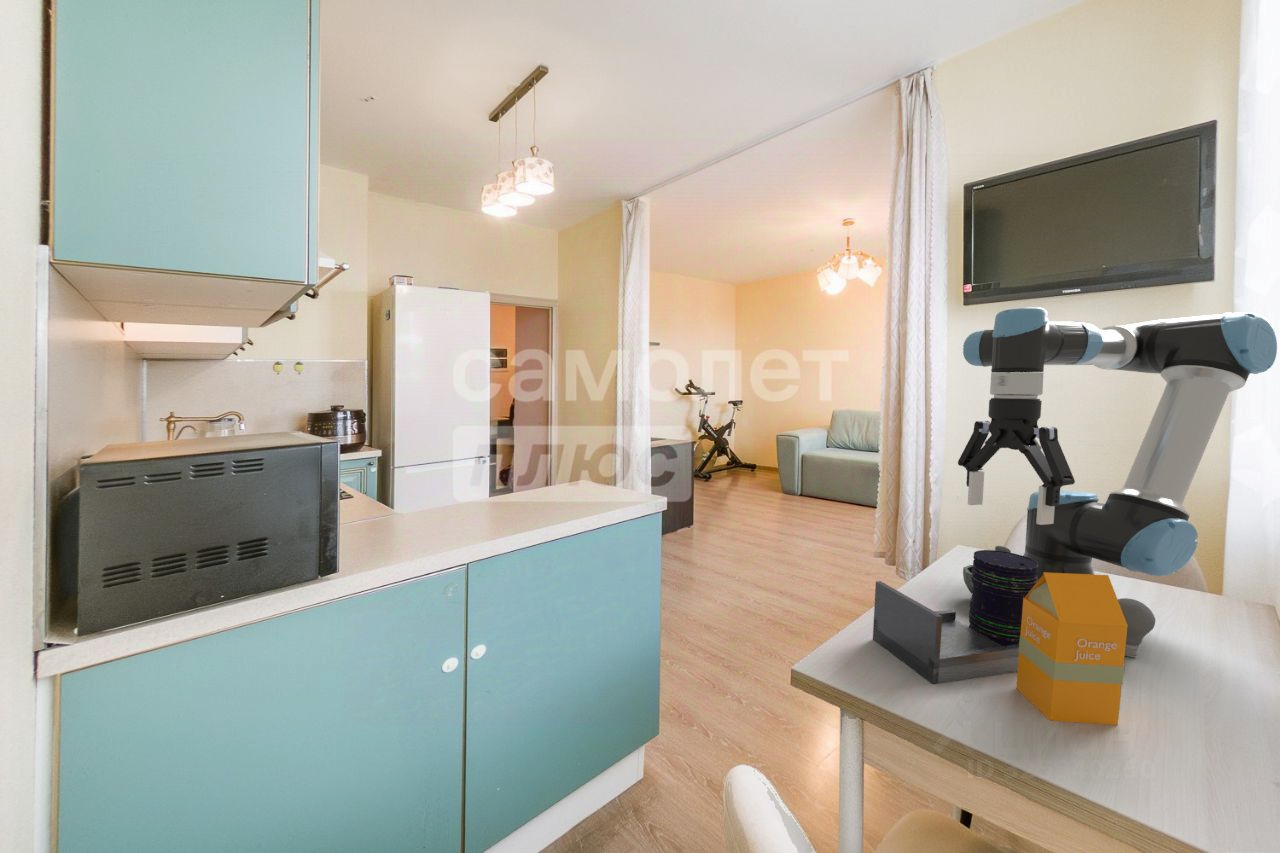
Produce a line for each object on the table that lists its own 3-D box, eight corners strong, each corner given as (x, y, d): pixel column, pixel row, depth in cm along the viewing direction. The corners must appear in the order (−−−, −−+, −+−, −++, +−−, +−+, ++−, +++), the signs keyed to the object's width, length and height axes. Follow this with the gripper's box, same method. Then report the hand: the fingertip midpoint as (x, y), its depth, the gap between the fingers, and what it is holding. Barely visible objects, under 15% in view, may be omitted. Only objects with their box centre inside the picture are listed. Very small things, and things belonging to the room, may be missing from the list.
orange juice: (1015, 687, 78) (1025, 562, 76) (1076, 691, 77) (1088, 565, 75) (1050, 721, 70) (1062, 583, 68) (1119, 726, 69) (1133, 586, 67)
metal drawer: (950, 629, 96) (953, 574, 95) (1020, 670, 82) (1025, 606, 81) (872, 639, 92) (875, 581, 91) (932, 684, 79) (936, 616, 78)
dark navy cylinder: (955, 629, 96) (960, 553, 95) (988, 620, 100) (994, 547, 99) (1011, 655, 87) (1017, 572, 86) (1045, 644, 91) (1051, 564, 90)
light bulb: (1138, 649, 89) (1143, 595, 88) (1159, 667, 84) (1166, 609, 83) (1096, 643, 91) (1101, 590, 90) (1114, 660, 86) (1120, 604, 85)
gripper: (941, 395, 101) (935, 498, 103) (1072, 399, 77) (1062, 535, 79) (972, 394, 102) (966, 496, 104) (1110, 399, 78) (1099, 532, 80)
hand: (1007, 513), depth 91 cm, fingers open, 13 cm apart
